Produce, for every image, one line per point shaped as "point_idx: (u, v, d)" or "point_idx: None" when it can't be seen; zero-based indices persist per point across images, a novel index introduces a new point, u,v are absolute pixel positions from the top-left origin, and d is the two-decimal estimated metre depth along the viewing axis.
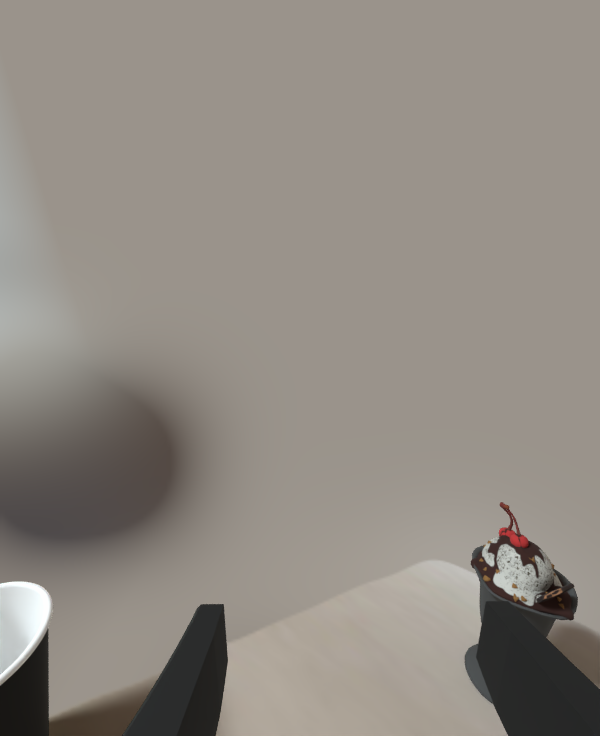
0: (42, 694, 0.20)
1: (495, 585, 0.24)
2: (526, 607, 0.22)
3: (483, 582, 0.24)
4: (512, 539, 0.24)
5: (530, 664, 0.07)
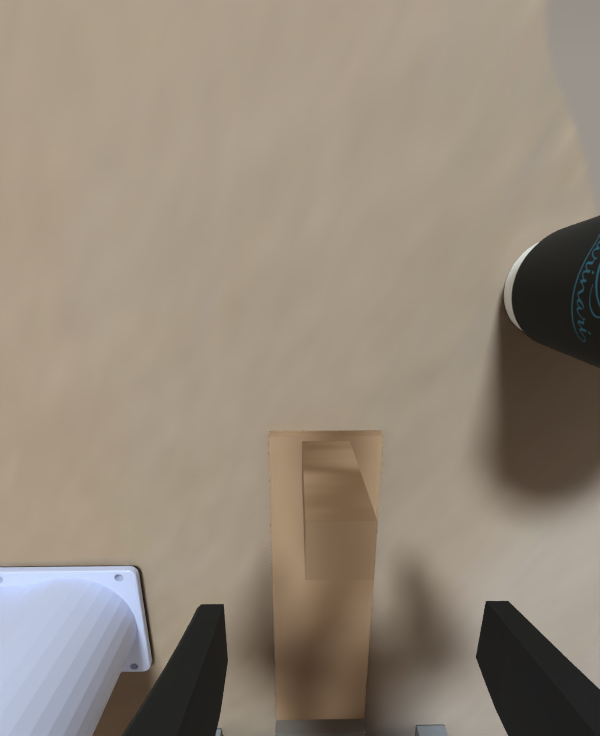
0: None
1: None
2: None
3: None
4: None
5: (530, 664, 0.07)
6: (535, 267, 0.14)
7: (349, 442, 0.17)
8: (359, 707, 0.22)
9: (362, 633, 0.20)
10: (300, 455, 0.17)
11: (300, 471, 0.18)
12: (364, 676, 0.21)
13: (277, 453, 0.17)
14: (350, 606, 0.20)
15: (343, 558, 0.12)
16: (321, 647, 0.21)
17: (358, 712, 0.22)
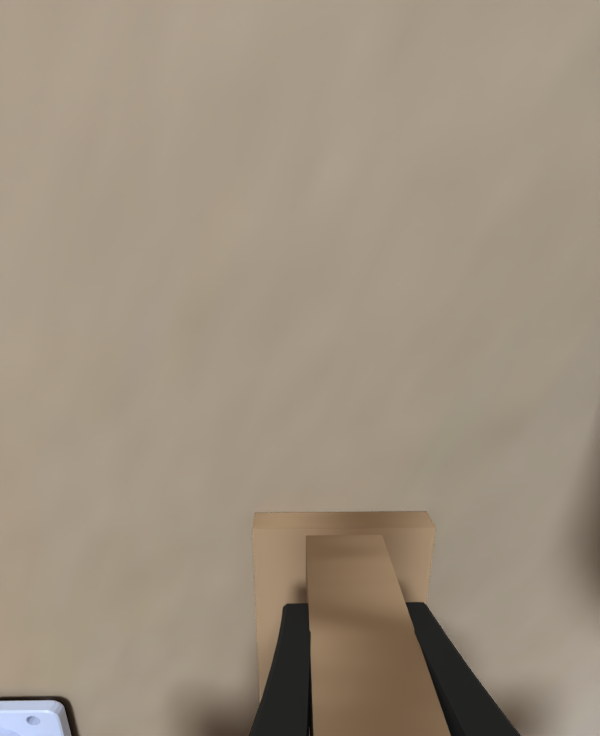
0: None
1: None
2: None
3: None
4: None
5: (427, 665, 0.07)
6: None
7: (381, 538, 0.11)
8: None
9: None
10: (303, 556, 0.11)
11: (303, 579, 0.11)
12: None
13: (266, 552, 0.11)
14: None
15: None
16: None
17: None
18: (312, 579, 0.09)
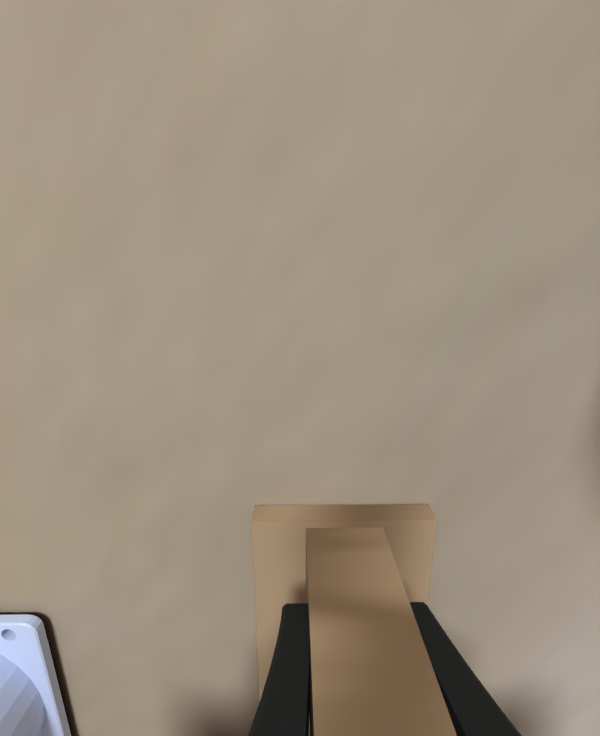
0: None
1: None
2: None
3: None
4: None
5: None
6: None
7: (382, 531, 0.10)
8: None
9: None
10: (303, 549, 0.11)
11: (303, 572, 0.11)
12: None
13: (266, 545, 0.11)
14: None
15: None
16: None
17: None
18: (312, 571, 0.09)
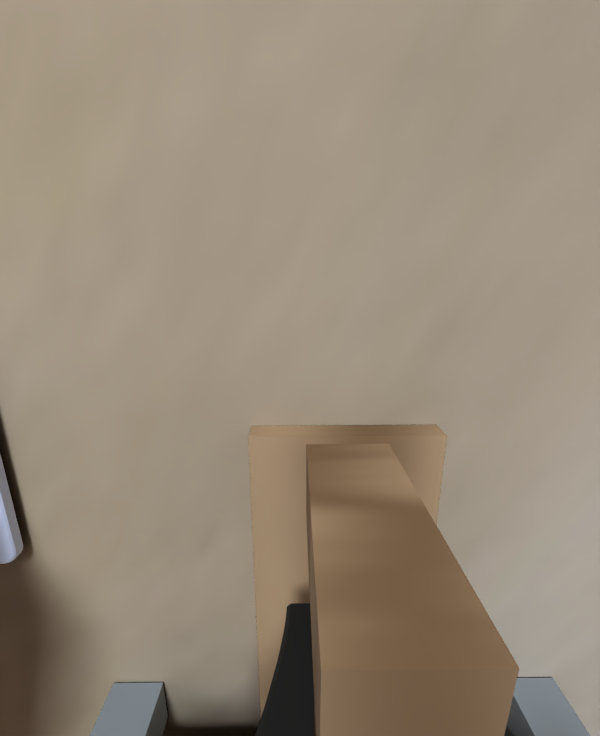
0: None
1: None
2: None
3: None
4: None
5: None
6: None
7: (388, 446, 0.10)
8: None
9: None
10: (303, 468, 0.10)
11: (303, 495, 0.10)
12: None
13: (264, 464, 0.10)
14: None
15: None
16: None
17: None
18: (313, 474, 0.08)
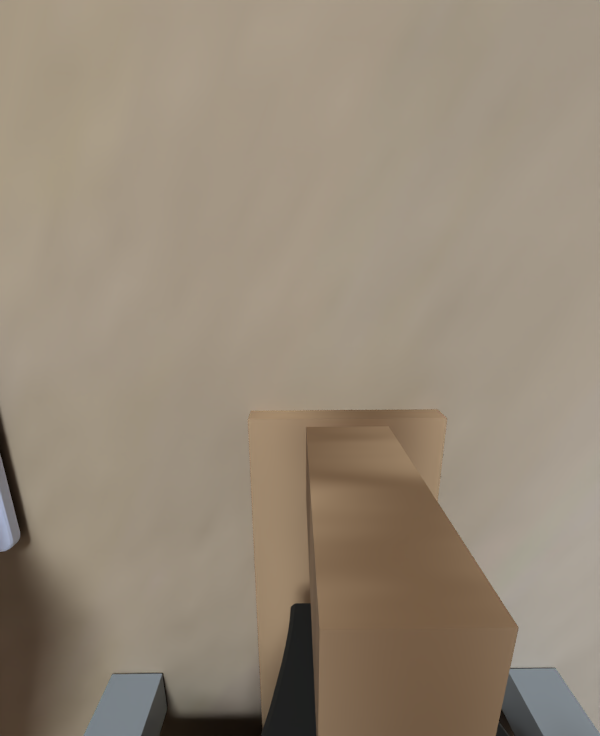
0: None
1: None
2: None
3: None
4: None
5: None
6: None
7: (388, 428, 0.10)
8: None
9: None
10: (303, 451, 0.10)
11: (303, 478, 0.10)
12: None
13: (264, 447, 0.10)
14: None
15: (417, 716, 0.04)
16: None
17: None
18: (313, 454, 0.08)
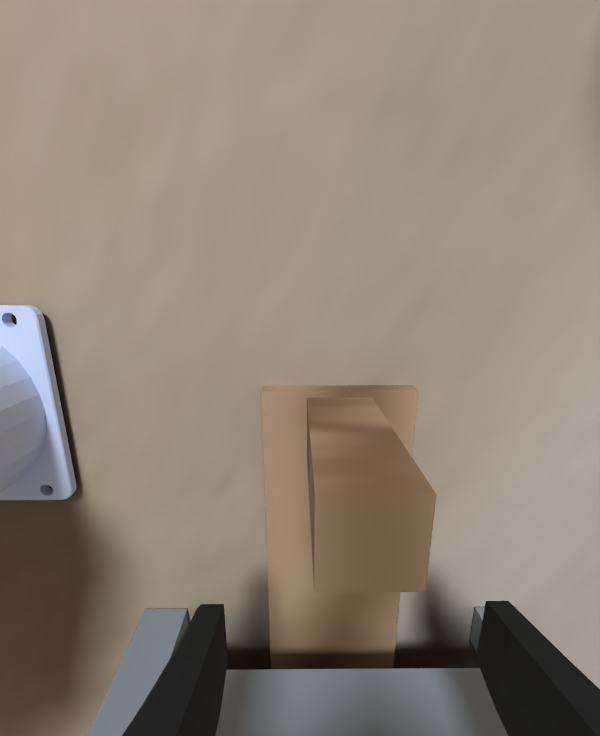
0: None
1: None
2: None
3: None
4: None
5: (530, 664, 0.07)
6: None
7: (371, 398, 0.12)
8: None
9: (384, 655, 0.16)
10: (304, 417, 0.13)
11: (304, 440, 0.13)
12: None
13: (273, 414, 0.13)
14: (369, 620, 0.15)
15: (377, 557, 0.07)
16: None
17: None
18: (312, 414, 0.11)
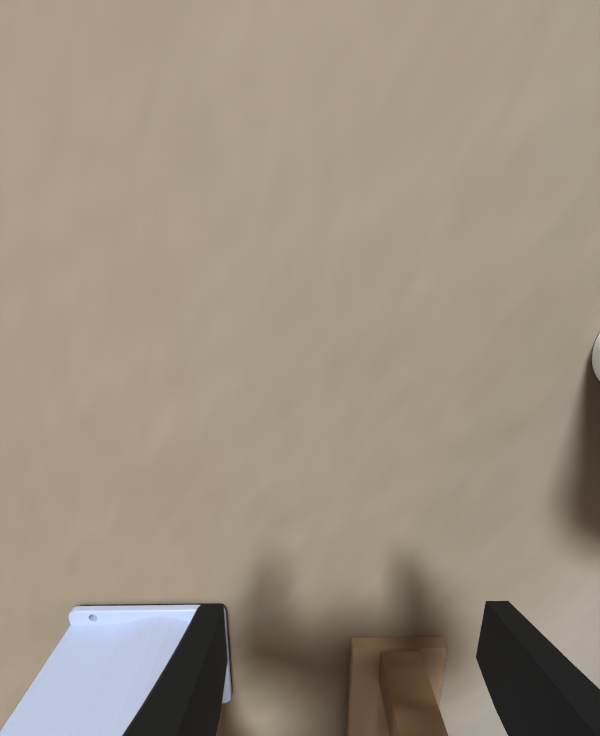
0: None
1: None
2: None
3: None
4: None
5: (530, 664, 0.07)
6: None
7: (419, 653, 0.21)
8: None
9: None
10: (378, 661, 0.21)
11: (377, 672, 0.21)
12: None
13: (359, 659, 0.21)
14: None
15: None
16: None
17: None
18: (389, 682, 0.19)
